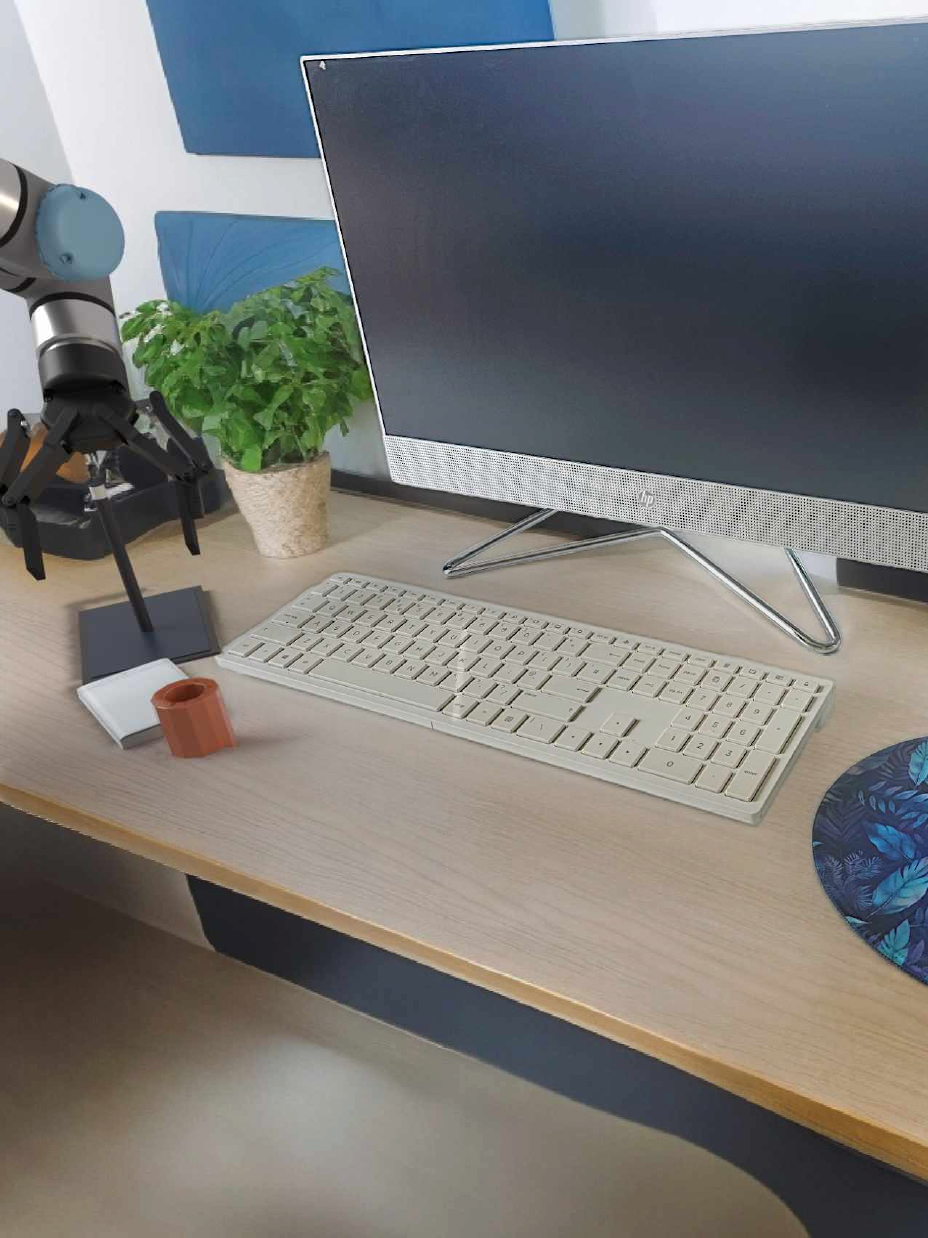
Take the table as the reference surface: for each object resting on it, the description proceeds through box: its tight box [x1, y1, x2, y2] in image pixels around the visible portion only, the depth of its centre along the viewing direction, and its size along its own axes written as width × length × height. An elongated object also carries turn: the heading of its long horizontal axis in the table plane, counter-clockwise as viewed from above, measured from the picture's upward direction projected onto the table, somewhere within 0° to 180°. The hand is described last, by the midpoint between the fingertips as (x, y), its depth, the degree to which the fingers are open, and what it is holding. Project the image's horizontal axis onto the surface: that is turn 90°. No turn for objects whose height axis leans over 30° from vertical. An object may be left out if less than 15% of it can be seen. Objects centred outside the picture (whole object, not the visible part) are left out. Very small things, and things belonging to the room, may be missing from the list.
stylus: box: [88, 480, 153, 632], centre depth 114 cm, size 1×1×15 cm
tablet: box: [77, 584, 222, 686], centre depth 118 cm, size 18×12×1 cm, turn 27°
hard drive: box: [76, 658, 191, 751], centre depth 105 cm, size 2×8×12 cm
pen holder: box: [150, 677, 238, 759], centre depth 96 cm, size 5×5×6 cm
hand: (116, 562), depth 111 cm, fingers open, 13 cm apart
